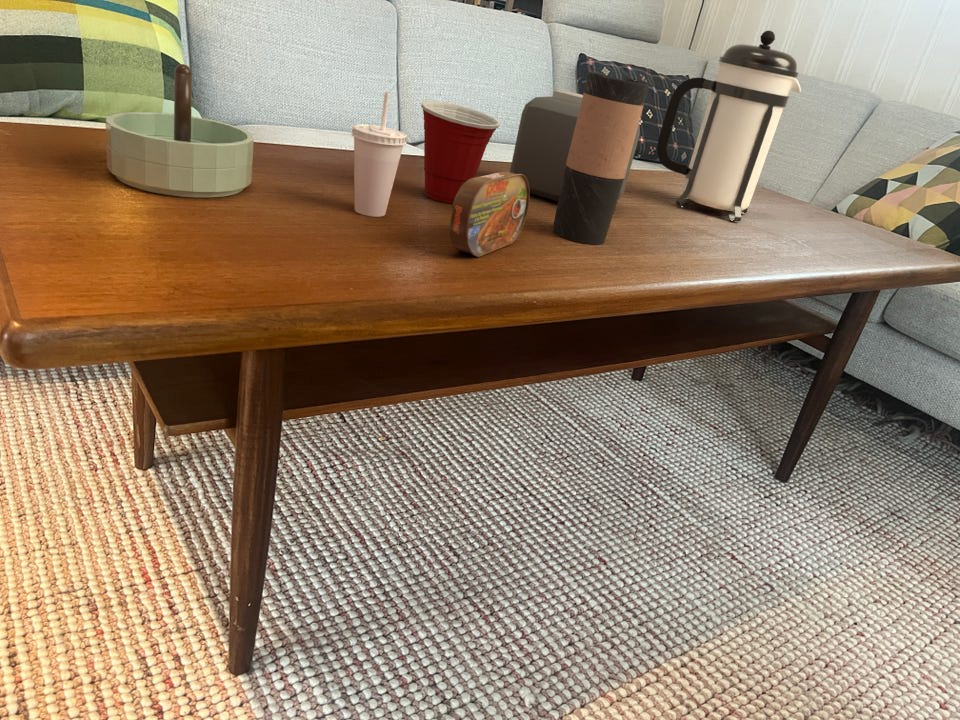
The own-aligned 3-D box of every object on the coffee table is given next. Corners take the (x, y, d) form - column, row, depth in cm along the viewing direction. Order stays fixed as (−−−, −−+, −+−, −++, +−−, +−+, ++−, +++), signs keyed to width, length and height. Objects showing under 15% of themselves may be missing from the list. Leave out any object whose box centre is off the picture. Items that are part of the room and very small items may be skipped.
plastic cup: (452, 213, 95) (468, 119, 90) (391, 190, 100) (404, 99, 95) (499, 206, 103) (517, 119, 98) (441, 185, 108) (455, 101, 103)
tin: (463, 263, 77) (478, 185, 74) (438, 254, 78) (451, 176, 75) (523, 240, 90) (539, 172, 86) (501, 233, 91) (515, 165, 87)
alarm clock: (619, 208, 118) (646, 108, 111) (597, 218, 108) (625, 110, 102) (529, 181, 123) (550, 85, 117) (500, 188, 114) (521, 84, 107)
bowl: (82, 181, 78) (79, 124, 75) (141, 155, 91) (140, 106, 89) (228, 208, 79) (230, 152, 76) (264, 178, 93) (267, 130, 90)
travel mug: (581, 247, 92) (625, 81, 84) (538, 227, 97) (575, 68, 88) (618, 243, 97) (662, 86, 89) (575, 225, 102) (613, 74, 93)
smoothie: (358, 220, 84) (373, 94, 78) (334, 203, 88) (346, 83, 82) (406, 220, 88) (423, 99, 82) (380, 204, 92) (395, 88, 86)
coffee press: (720, 202, 140) (776, 35, 128) (769, 227, 127) (837, 43, 114) (641, 191, 135) (691, 15, 122) (684, 216, 121) (745, 21, 109)
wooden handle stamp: (147, 173, 82) (147, 60, 77) (166, 163, 87) (166, 57, 82) (198, 182, 83) (200, 71, 78) (214, 172, 88) (217, 67, 83)
